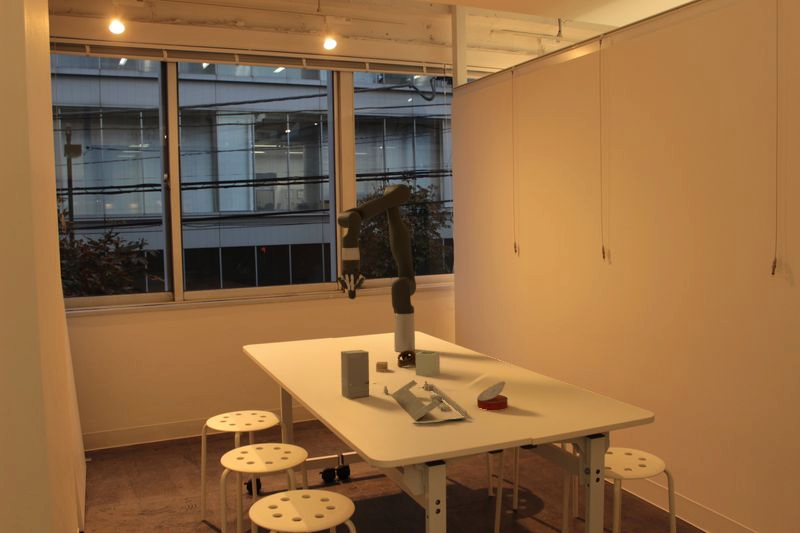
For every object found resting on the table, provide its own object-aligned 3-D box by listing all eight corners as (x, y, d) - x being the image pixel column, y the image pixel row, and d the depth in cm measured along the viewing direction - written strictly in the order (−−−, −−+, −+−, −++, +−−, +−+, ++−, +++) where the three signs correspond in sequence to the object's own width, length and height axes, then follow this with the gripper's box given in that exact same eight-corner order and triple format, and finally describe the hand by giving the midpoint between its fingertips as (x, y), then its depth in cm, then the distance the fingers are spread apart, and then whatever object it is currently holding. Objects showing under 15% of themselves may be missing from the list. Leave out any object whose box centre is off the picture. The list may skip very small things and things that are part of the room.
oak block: (377, 371, 313) (377, 361, 312) (387, 371, 312) (387, 361, 312) (376, 373, 309) (376, 363, 308) (386, 373, 308) (386, 363, 308)
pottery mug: (426, 369, 318) (420, 353, 314) (407, 381, 315) (400, 365, 311) (413, 357, 328) (407, 341, 324) (394, 368, 325) (388, 353, 321)
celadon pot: (423, 373, 307) (423, 350, 307) (439, 374, 304) (439, 351, 304) (415, 376, 301) (415, 353, 300) (432, 378, 298) (432, 355, 297)
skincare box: (348, 399, 268) (347, 353, 267) (340, 395, 275) (339, 350, 274) (370, 396, 272) (369, 351, 271) (362, 392, 279) (361, 348, 277)
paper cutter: (432, 390, 281) (432, 375, 281) (472, 423, 238) (472, 405, 237) (383, 394, 277) (382, 378, 277) (415, 428, 234) (414, 410, 233)
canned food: (501, 424, 251) (498, 401, 246) (473, 417, 256) (469, 394, 251) (515, 401, 259) (512, 378, 254) (487, 395, 264) (484, 372, 259)
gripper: (332, 259, 332) (334, 299, 333) (360, 259, 327) (362, 300, 328) (341, 258, 339) (342, 297, 340) (368, 257, 334) (370, 298, 335)
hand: (352, 298), depth 334 cm, fingers closed
